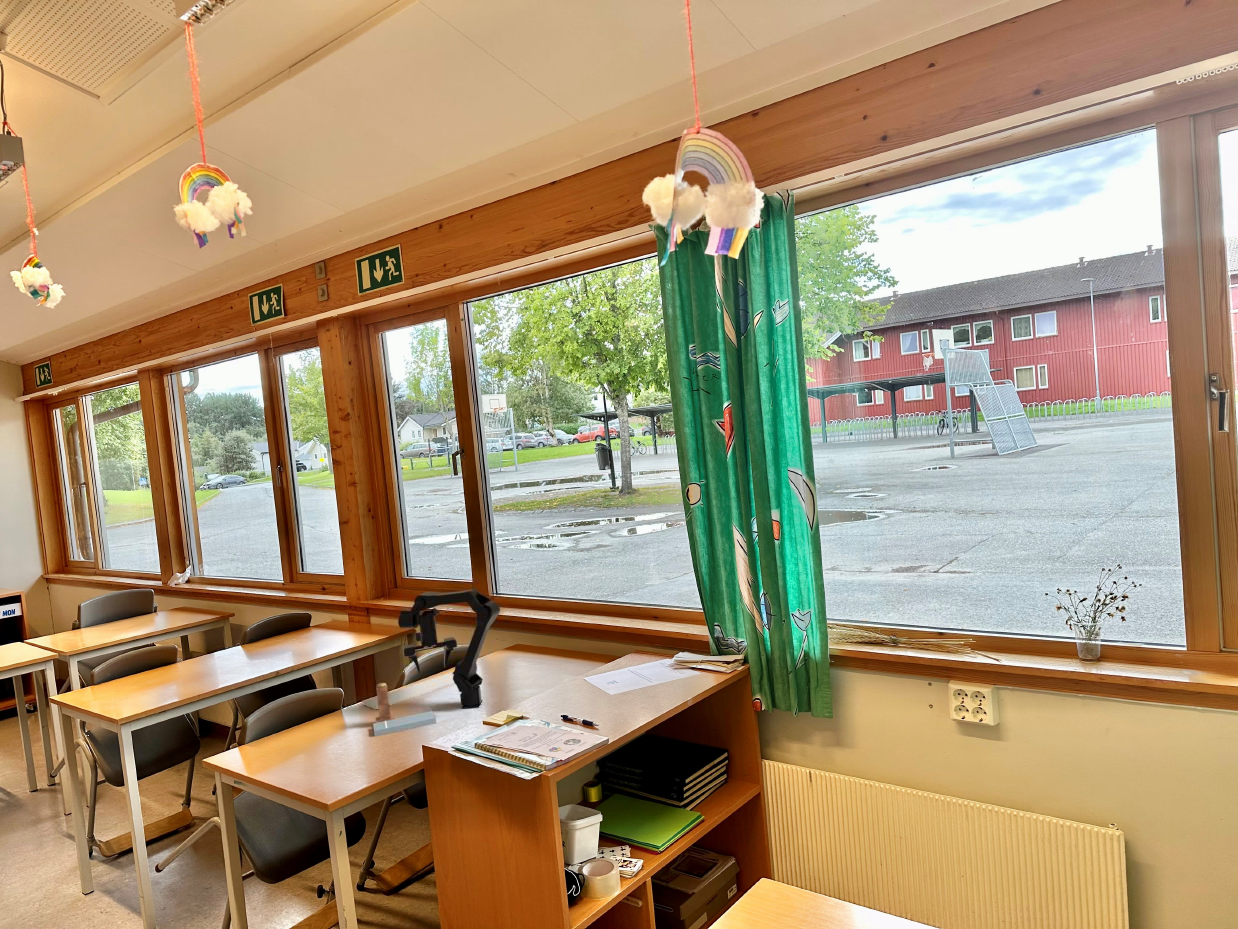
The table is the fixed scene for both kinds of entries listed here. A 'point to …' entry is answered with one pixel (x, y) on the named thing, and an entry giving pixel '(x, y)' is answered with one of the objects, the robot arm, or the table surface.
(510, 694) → the table surface
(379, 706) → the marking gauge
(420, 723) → the board
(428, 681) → the decorative molding
